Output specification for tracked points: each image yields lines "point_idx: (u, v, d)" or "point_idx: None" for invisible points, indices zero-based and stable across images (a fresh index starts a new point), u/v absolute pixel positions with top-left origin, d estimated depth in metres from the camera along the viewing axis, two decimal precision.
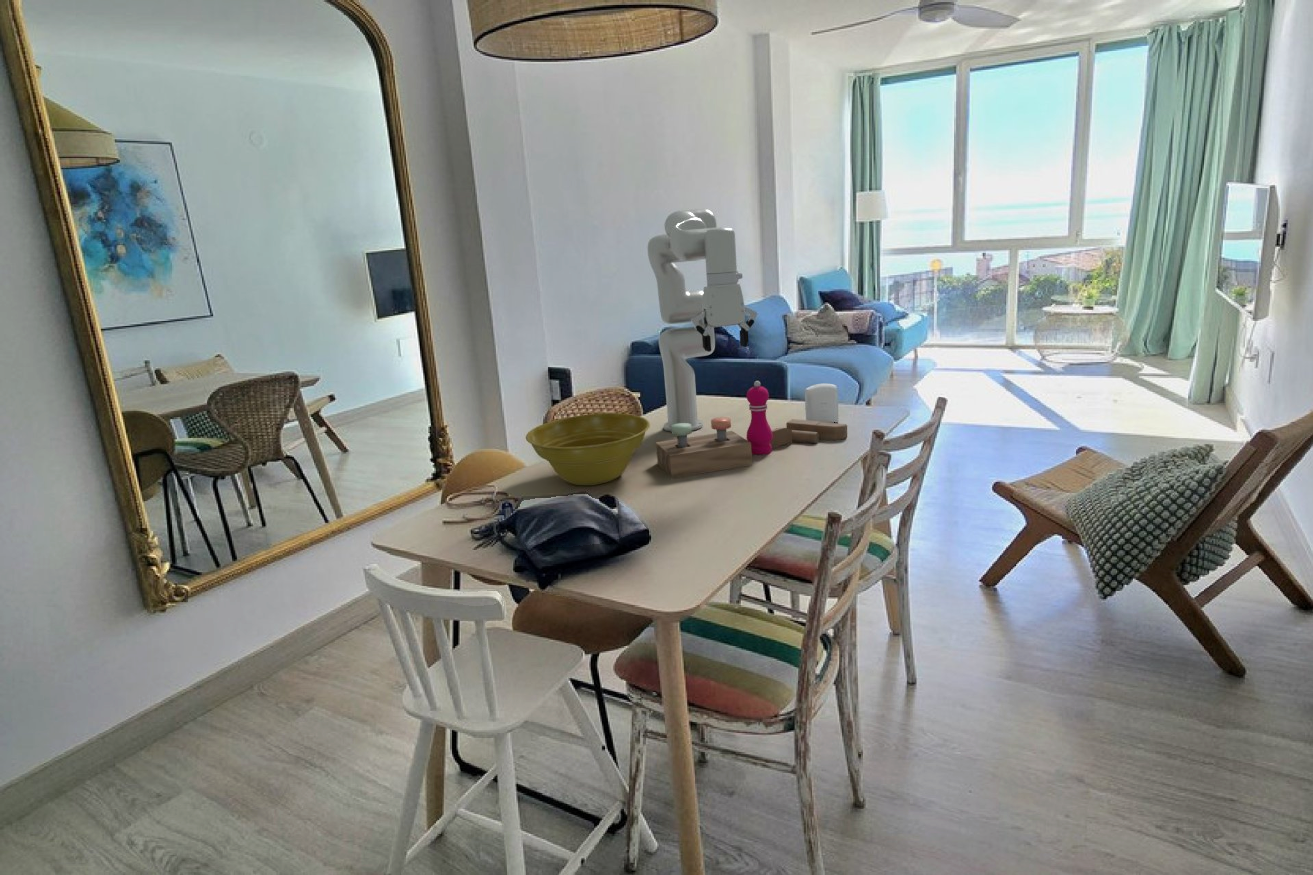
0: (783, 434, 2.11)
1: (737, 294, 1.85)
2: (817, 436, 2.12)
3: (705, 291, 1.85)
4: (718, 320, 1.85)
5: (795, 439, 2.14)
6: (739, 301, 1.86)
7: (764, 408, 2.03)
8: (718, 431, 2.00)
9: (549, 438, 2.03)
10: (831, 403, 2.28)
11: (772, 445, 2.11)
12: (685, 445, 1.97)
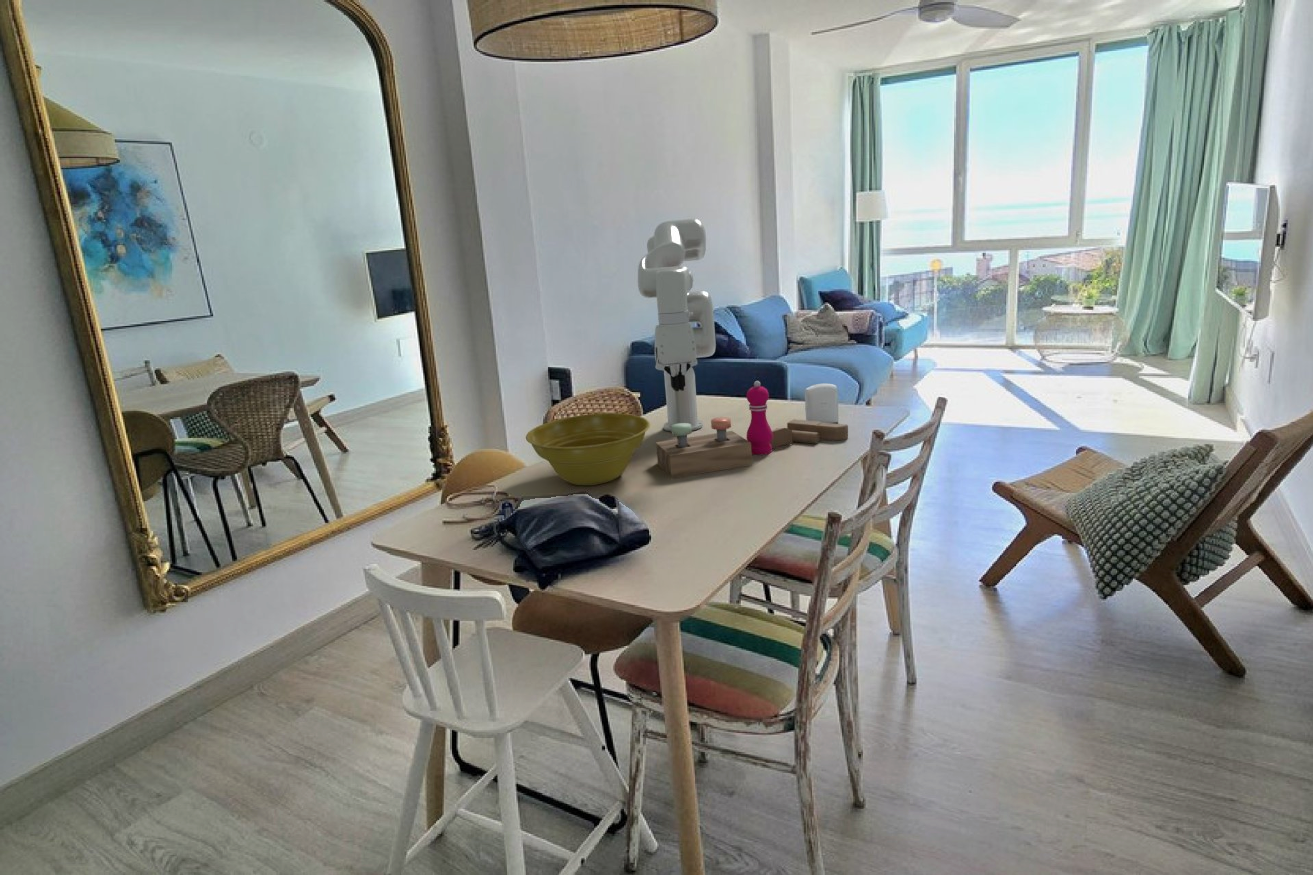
0: (783, 434, 2.11)
1: (688, 333, 1.89)
2: (818, 436, 2.11)
3: (656, 330, 1.89)
4: (670, 358, 1.90)
5: (795, 439, 2.14)
6: (689, 340, 1.90)
7: (764, 408, 2.03)
8: (718, 431, 2.00)
9: (549, 438, 2.03)
10: (831, 403, 2.28)
11: (772, 445, 2.11)
12: (685, 445, 1.97)
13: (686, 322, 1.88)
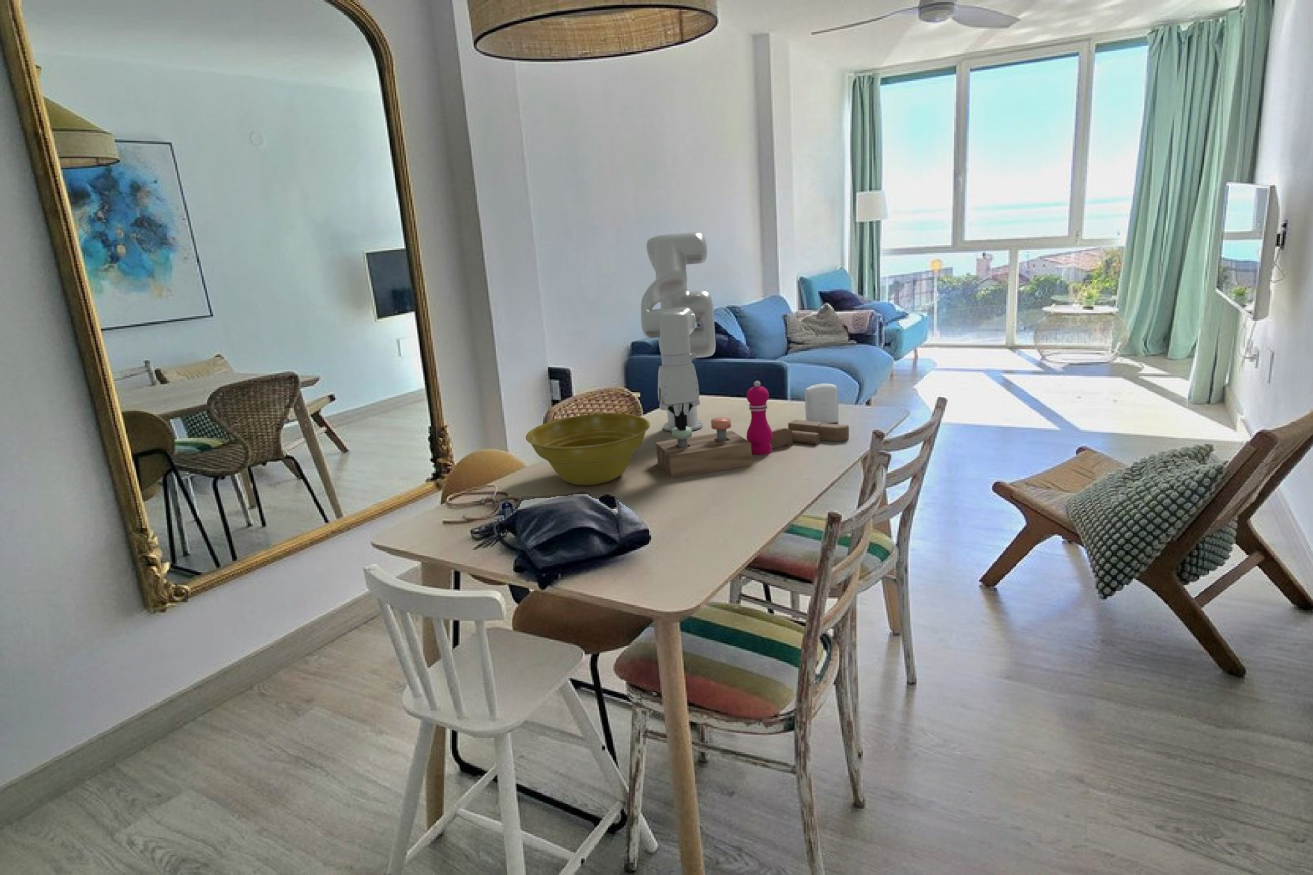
0: (783, 434, 2.10)
1: (691, 374, 1.92)
2: (818, 437, 2.11)
3: (660, 371, 1.92)
4: (673, 399, 1.92)
5: (796, 440, 2.13)
6: (692, 381, 1.93)
7: (764, 408, 2.03)
8: (718, 431, 2.00)
9: (549, 438, 2.03)
10: (831, 403, 2.28)
11: (772, 445, 2.11)
12: None
13: (689, 363, 1.91)
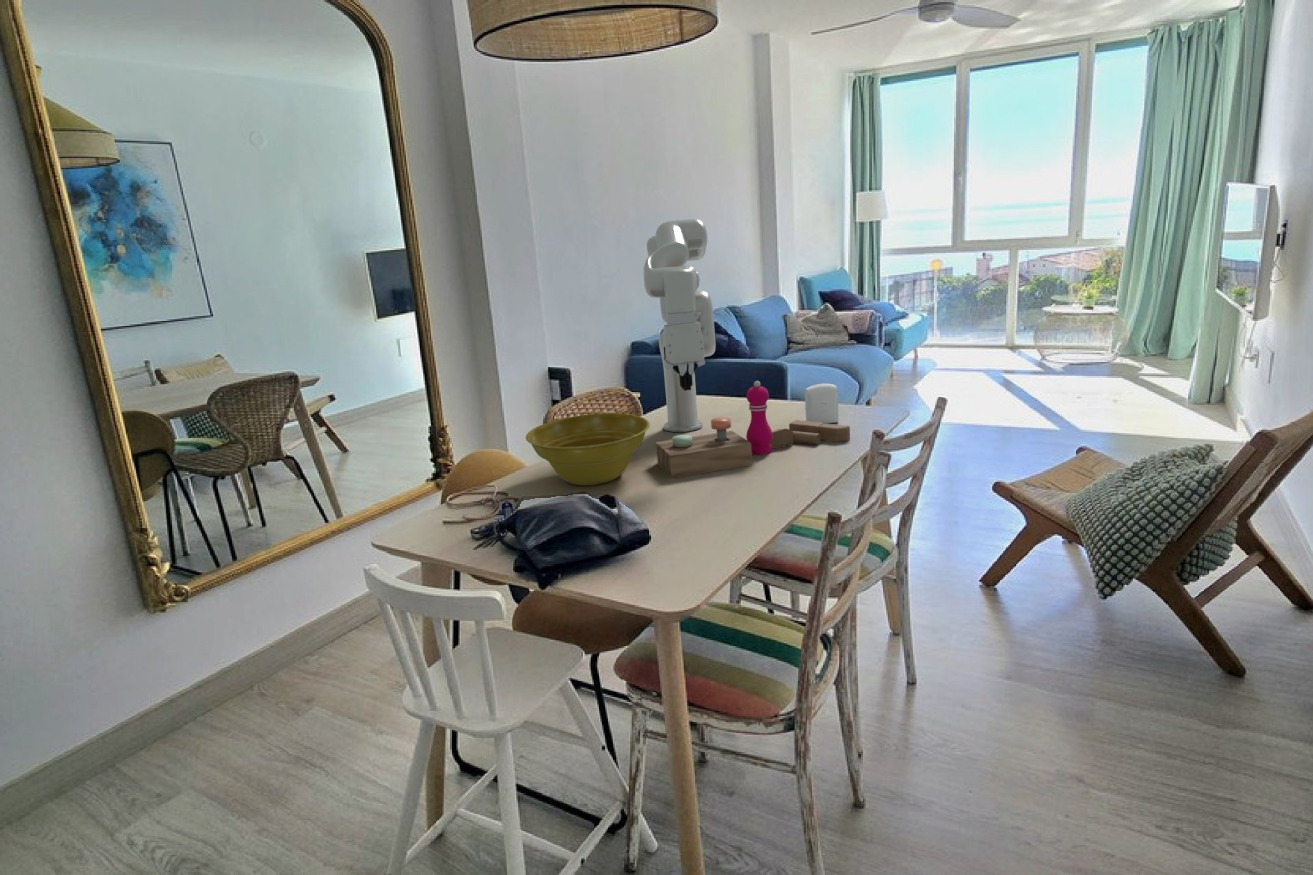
0: (783, 435, 2.10)
1: (696, 333, 1.90)
2: (819, 437, 2.10)
3: (664, 329, 1.90)
4: (677, 358, 1.90)
5: (796, 440, 2.13)
6: (697, 340, 1.90)
7: (764, 408, 2.03)
8: (718, 431, 2.00)
9: (549, 438, 2.03)
10: (831, 403, 2.28)
11: (772, 446, 2.10)
12: None
13: (694, 322, 1.89)
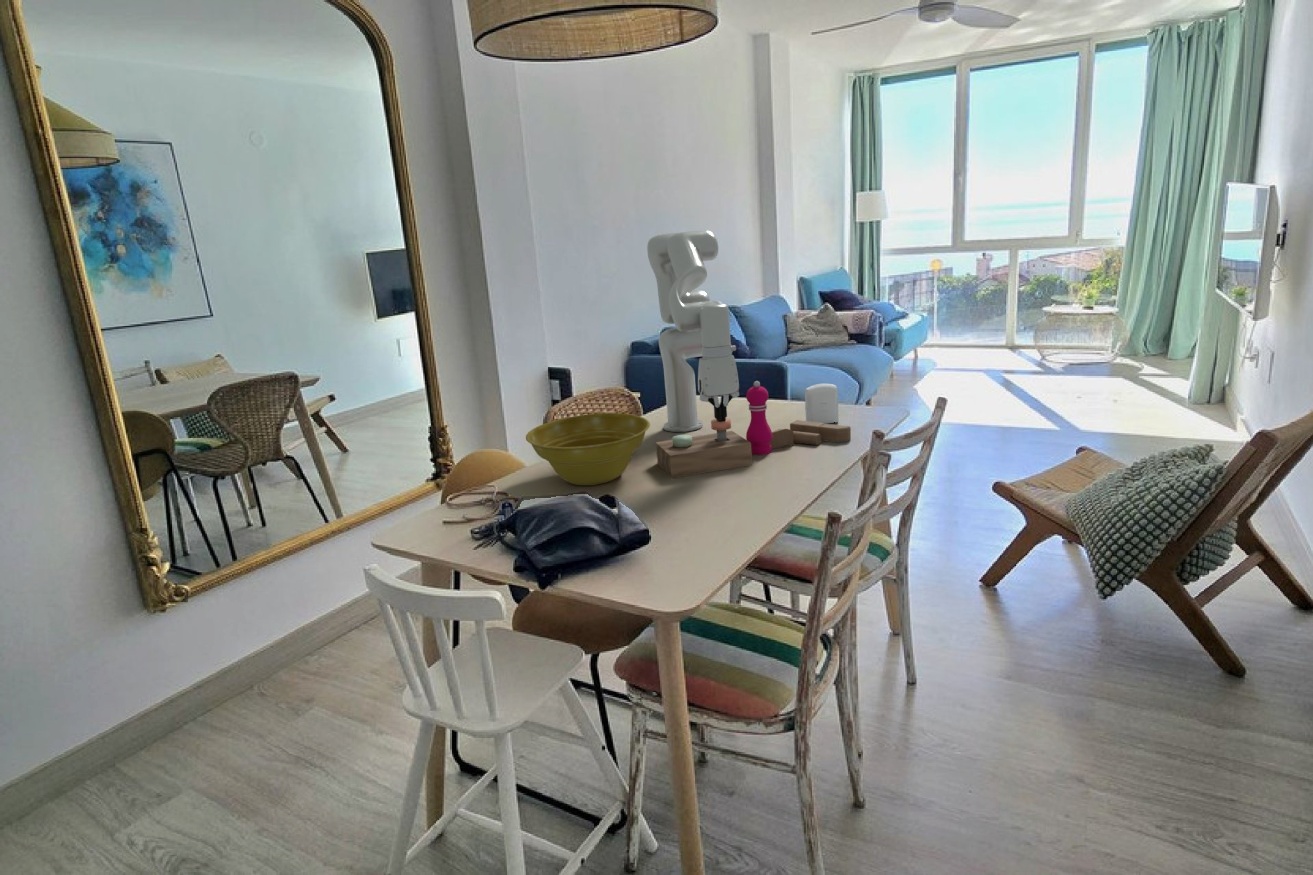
0: (784, 435, 2.10)
1: (731, 366, 1.94)
2: (819, 437, 2.10)
3: (700, 363, 1.94)
4: (713, 390, 1.95)
5: (797, 440, 2.12)
6: (732, 372, 1.95)
7: (764, 408, 2.03)
8: (718, 432, 2.00)
9: (549, 438, 2.03)
10: (831, 403, 2.28)
11: (773, 446, 2.10)
12: None
13: (729, 355, 1.93)
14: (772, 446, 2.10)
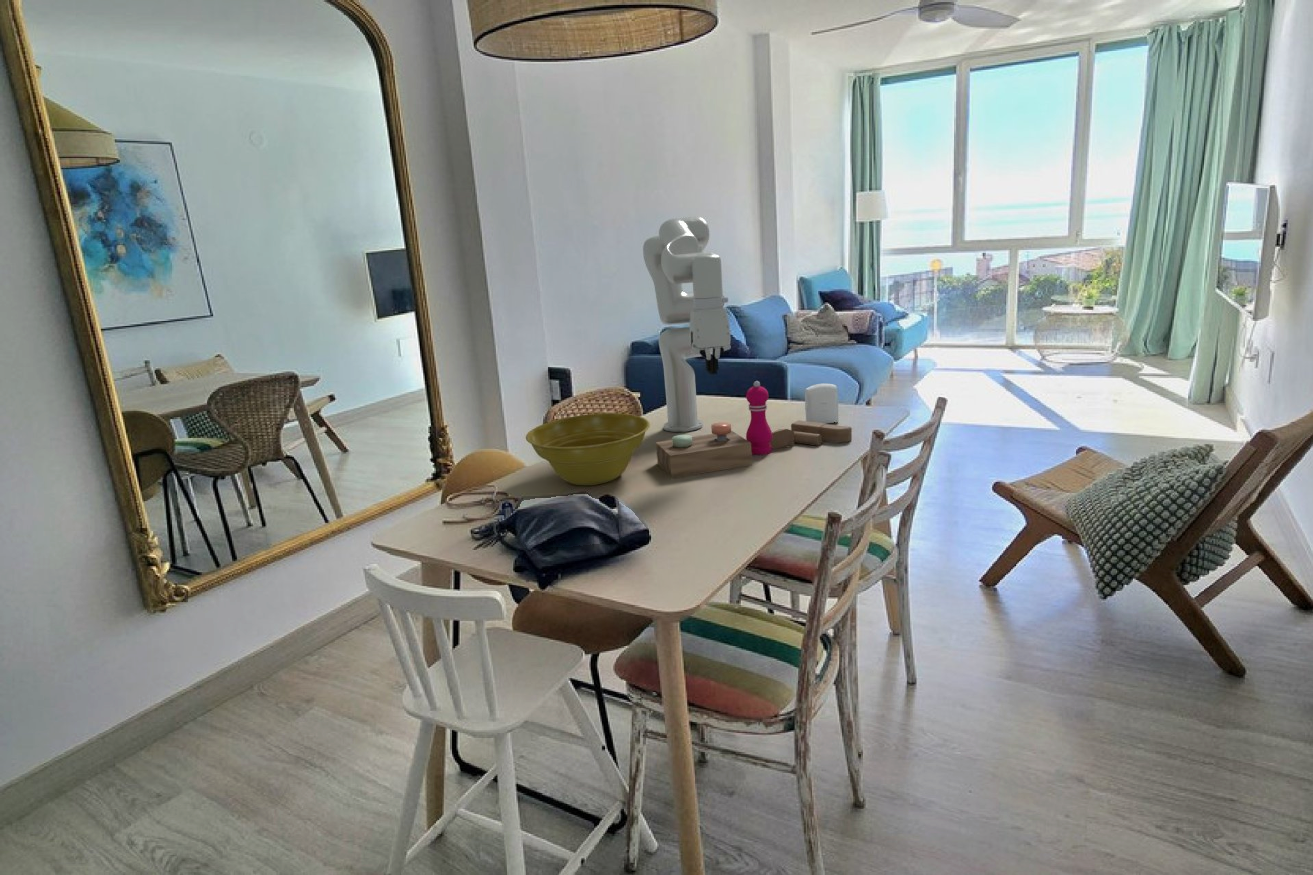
0: (784, 435, 2.10)
1: (723, 318, 1.94)
2: (820, 438, 2.09)
3: (692, 314, 1.93)
4: (705, 342, 1.94)
5: (798, 441, 2.12)
6: (724, 324, 1.94)
7: (764, 408, 2.03)
8: (718, 436, 2.00)
9: (549, 438, 2.03)
10: (831, 403, 2.28)
11: (773, 446, 2.10)
12: None
13: (721, 307, 1.92)
14: (772, 446, 2.10)
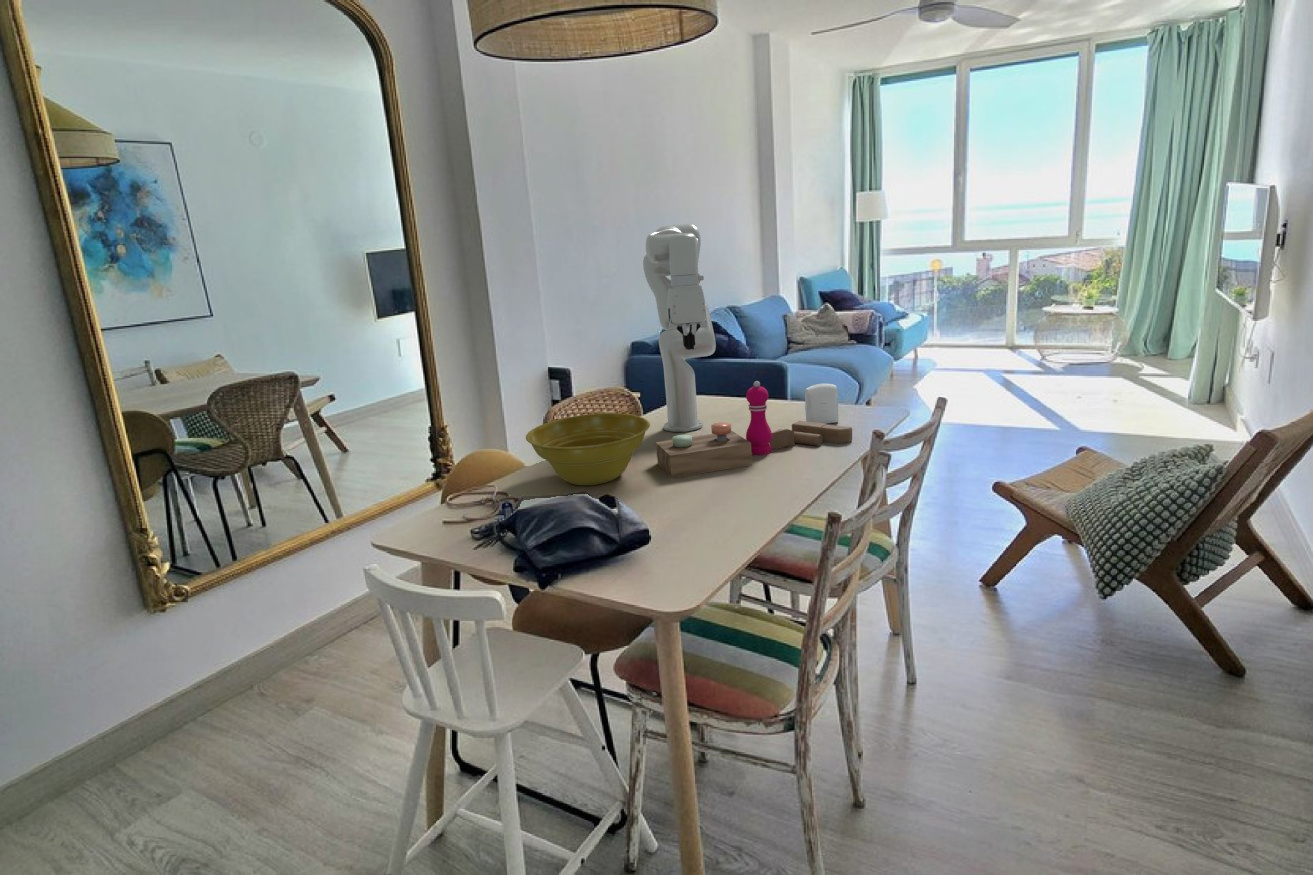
0: (785, 435, 2.09)
1: (699, 294, 2.02)
2: (820, 438, 2.09)
3: (669, 292, 2.02)
4: (681, 318, 2.03)
5: (798, 441, 2.12)
6: (700, 301, 2.03)
7: (764, 408, 2.03)
8: (718, 436, 2.00)
9: (549, 438, 2.03)
10: (831, 403, 2.28)
11: (773, 446, 2.10)
12: None
13: (697, 284, 2.01)
14: (773, 446, 2.10)
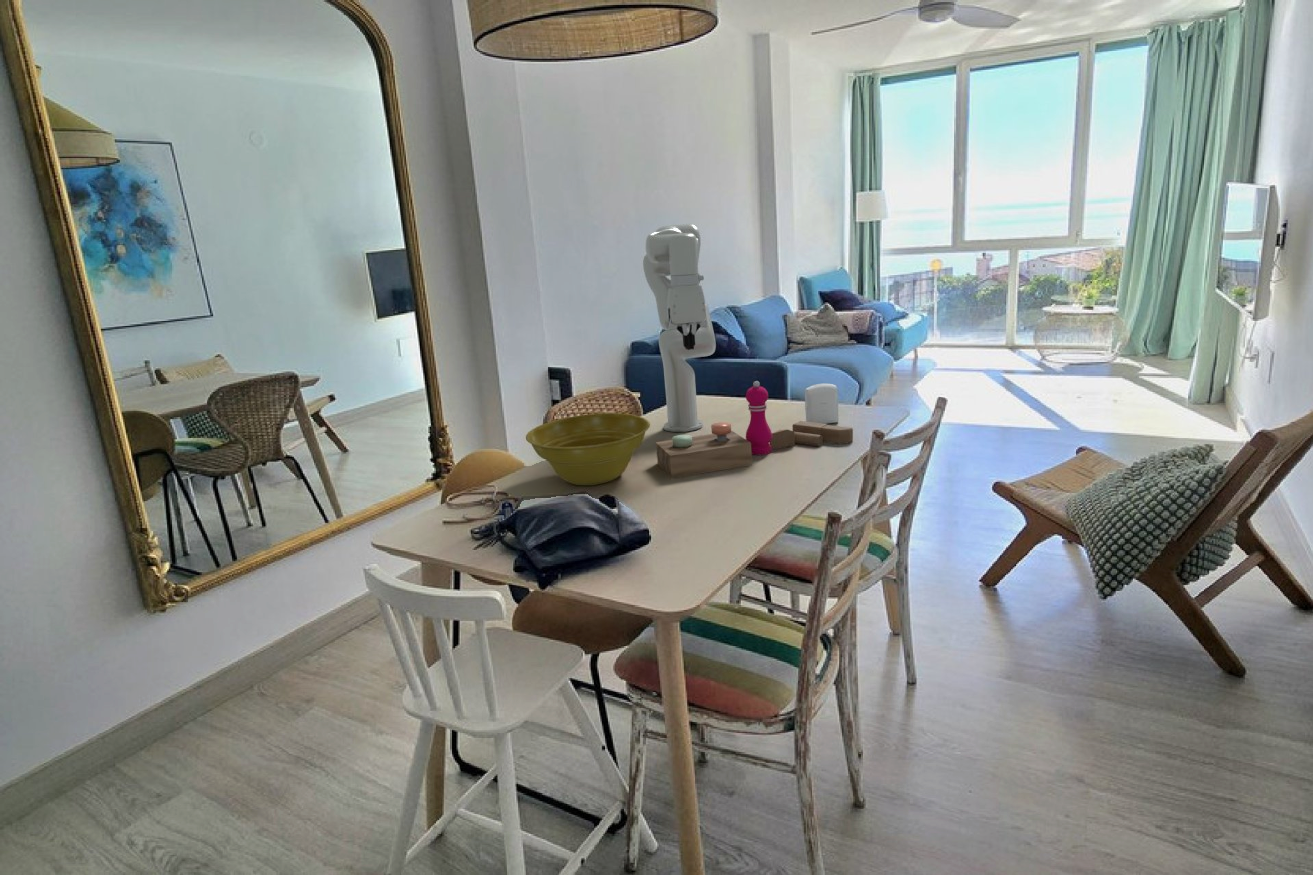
0: (785, 436, 2.09)
1: (699, 294, 2.02)
2: (821, 439, 2.09)
3: (669, 292, 2.02)
4: (681, 318, 2.03)
5: (798, 441, 2.12)
6: (700, 301, 2.03)
7: (763, 408, 2.03)
8: (718, 436, 2.00)
9: (549, 438, 2.03)
10: (831, 403, 2.28)
11: (774, 447, 2.10)
12: None
13: (697, 284, 2.01)
14: (773, 447, 2.10)
